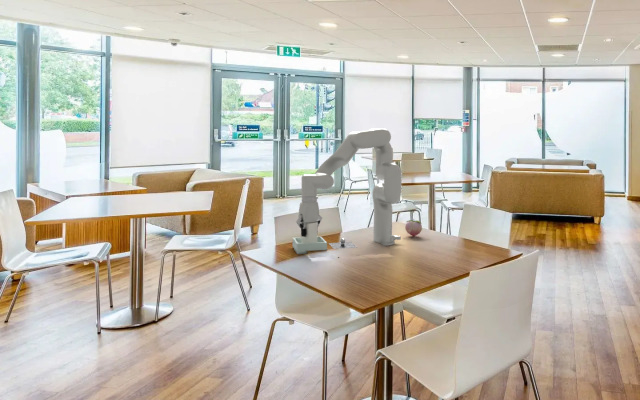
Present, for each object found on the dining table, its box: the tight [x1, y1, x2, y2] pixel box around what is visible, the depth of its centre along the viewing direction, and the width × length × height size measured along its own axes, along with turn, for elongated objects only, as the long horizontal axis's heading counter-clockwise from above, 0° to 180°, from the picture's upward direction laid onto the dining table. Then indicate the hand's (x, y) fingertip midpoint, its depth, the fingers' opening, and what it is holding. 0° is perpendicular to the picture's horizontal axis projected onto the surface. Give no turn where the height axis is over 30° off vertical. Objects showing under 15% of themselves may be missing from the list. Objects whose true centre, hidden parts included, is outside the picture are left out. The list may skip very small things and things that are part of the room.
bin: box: [292, 235, 328, 255], centre depth 248 cm, size 15×15×5 cm
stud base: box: [328, 237, 358, 250], centre depth 252 cm, size 12×12×5 cm
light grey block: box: [300, 222, 318, 243], centre depth 248 cm, size 6×6×13 cm
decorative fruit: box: [404, 219, 423, 237], centre depth 280 cm, size 9×8×10 cm
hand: (309, 235), depth 248 cm, fingers open, 6 cm apart
